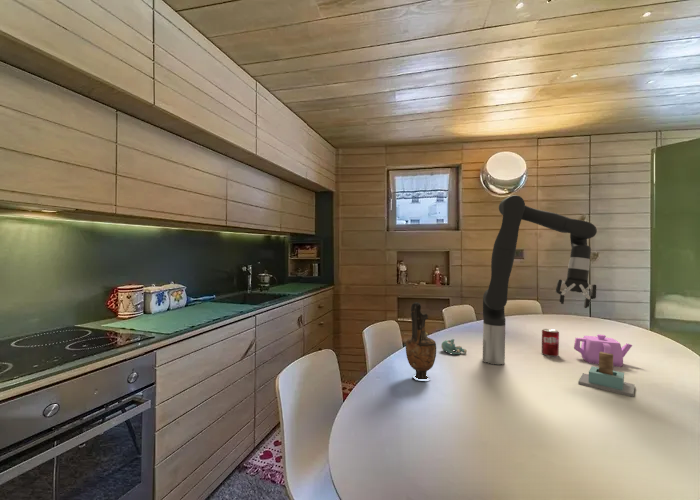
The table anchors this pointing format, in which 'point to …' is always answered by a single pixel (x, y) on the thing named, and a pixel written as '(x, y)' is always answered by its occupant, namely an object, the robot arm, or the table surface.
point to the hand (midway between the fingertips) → (573, 306)
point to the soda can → (550, 342)
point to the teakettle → (601, 348)
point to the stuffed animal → (452, 347)
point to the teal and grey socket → (607, 381)
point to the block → (606, 363)
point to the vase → (420, 344)
